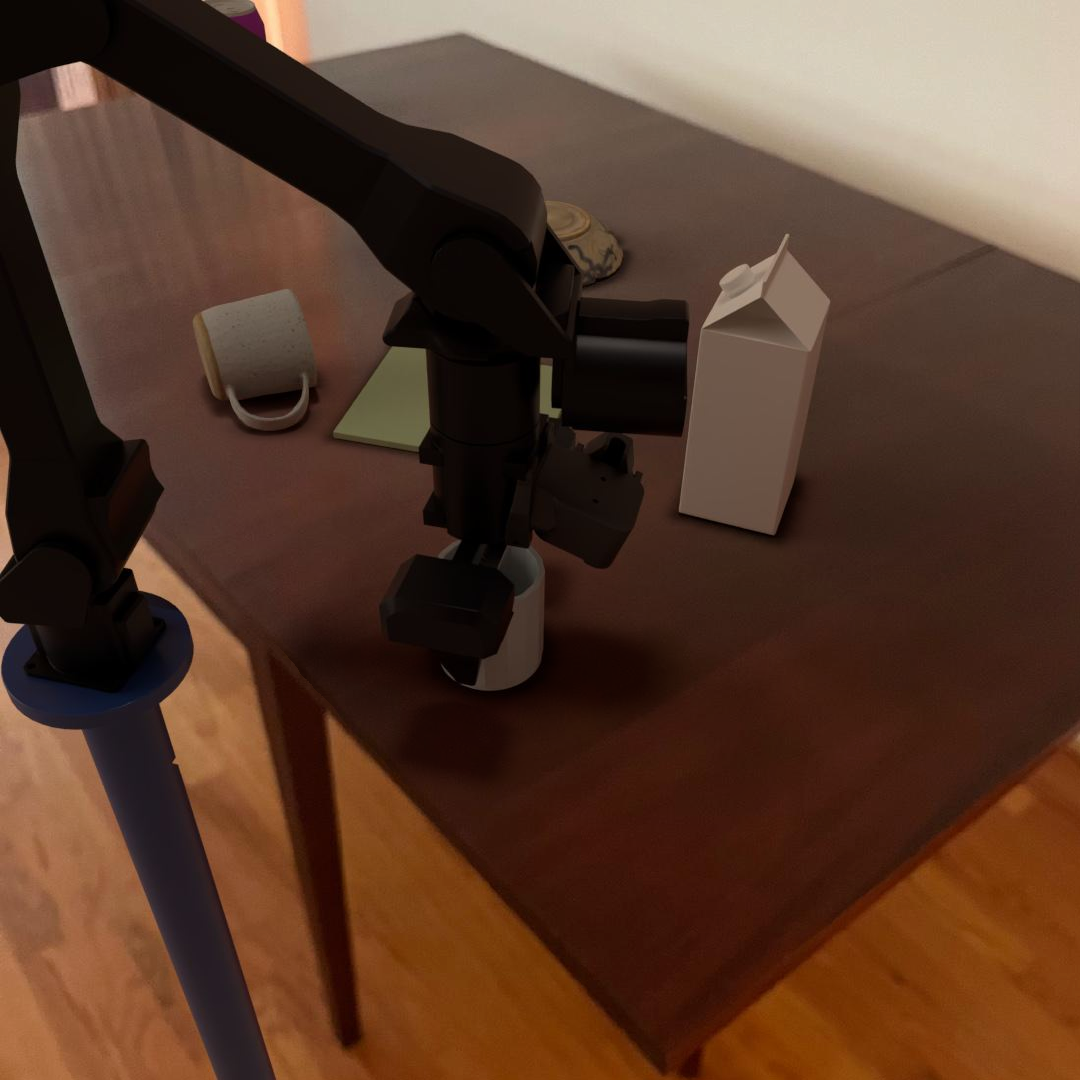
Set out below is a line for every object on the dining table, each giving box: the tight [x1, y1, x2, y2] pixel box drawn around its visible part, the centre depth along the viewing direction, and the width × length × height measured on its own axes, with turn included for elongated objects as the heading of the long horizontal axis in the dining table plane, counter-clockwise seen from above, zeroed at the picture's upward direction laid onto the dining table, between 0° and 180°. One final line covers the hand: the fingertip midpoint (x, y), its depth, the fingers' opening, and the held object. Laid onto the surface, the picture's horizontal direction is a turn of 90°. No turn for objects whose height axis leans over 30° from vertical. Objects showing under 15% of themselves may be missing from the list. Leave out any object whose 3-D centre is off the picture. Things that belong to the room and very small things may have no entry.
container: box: [437, 539, 546, 692], centre depth 69 cm, size 6×6×7 cm
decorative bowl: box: [544, 200, 624, 287], centre depth 111 cm, size 15×4×15 cm
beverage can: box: [203, 0, 267, 41], centre depth 131 cm, size 8×8×12 cm
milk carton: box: [678, 233, 831, 536], centre depth 78 cm, size 7×7×19 cm
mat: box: [332, 346, 562, 453], centre depth 91 cm, size 16×14×1 cm
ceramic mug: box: [192, 288, 318, 432], centre depth 88 cm, size 11×8×8 cm
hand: (489, 629), depth 70 cm, fingers open, 9 cm apart
